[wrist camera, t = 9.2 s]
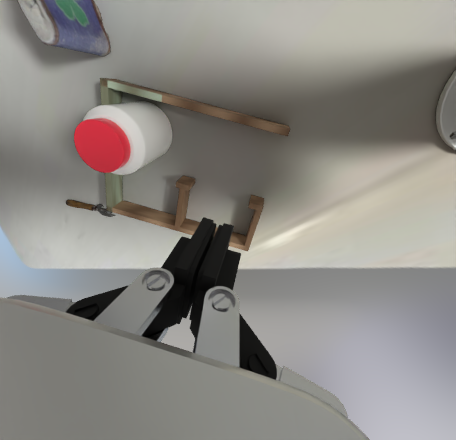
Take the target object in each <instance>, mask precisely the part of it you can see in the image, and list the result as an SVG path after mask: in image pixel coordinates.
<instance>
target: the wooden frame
mask: <svg viewBox="0 0 456 440" xmlns="http://www.w3.org/2000/svg"><path fill="white" fill-rule="evenodd" d="M100 89H101V105H109V104H119V103H122V93H121V91H123V92H126V93H130V94H134V95H137V96H141V97H145V98H148V99H152V100H156V101H159V102H163V103H167V104H171V105H174V106H178V107H182V108H185V109H189V110H193V111H196V112H200V113H204V114H207V115H211V116H215V117H218V118H222V119H226V120H229V121H233V122H237V123H240V124H244V125H248V126H251V127H255V128H259V129H262V130H266V131H270V132H273V133H277V134H281V135H285V136H288V134H289V131H290V128H289V126H287V125H283V124H279V123H275V122H272V121H268V120H264V119H261V118H257V117H253V116H250V115H246V114H242V113H238V112H235V111H231V110H227V109H224V108H220V107H216V106H213V105H209V104H205V103H202V102H198V101H194V100H190V99H187V98H183V97H179V96H176V95H172V94H168V93H165V92H161V91H157V90H154V89H150V88H146V87H142V86H139V85H135V84H131V83H128V82H124V81H120V80H117V79H108V78H100ZM194 184H195V179H194V178H190V177H187V176H182V177H181V178H180V179H179V180H178V181H177V182H176V187H177V188H180V189H179V197H178V204H177V212H176V215H172V214H169V213H165V212H162V211H158V210H155V209H151V208H148V207H144V206H141V205H137V204H134V203H130V202H127V201H124V200H123V194H122V175H118V174H113V173H105V187H106V207H107V211H111V212H114V213H118V214H121V215H124V216H128V217H131V218H135V219H138V220H142V221H145V222H149V223H152V224H155V225H159V226H162V227H166V228H169V229H173V230H176V231H180V232H183V233H187V234H190V235H193V234H194V232H195V231H196V229H197V227H198V226H199V224H200V222H197V221H193V220H190V219H186V212H187V206H188V199H189V193H190V189H191V188H192V186H193V185H194ZM263 204H264V198H261V197H258V196H254V195H251V198H250V202H249V207H248V208H251V209H254V210H255V211H254V214H253V217H252V220H251V223H250V226H249V229H248V232H247V235H246V236H245V235H242V234H238V233H235V232H232V235H231V239H230V243H229V246H231V247H235V248H238V249H242V250H245V251H248V250H249V247H250V244H251V241H252V238H253V235H254V232H255V229H256V226H257V224H258V221H259V218H260V215H261V212H262V209H263ZM217 229H218V228H217V227H216V229H215V234H216V231H217ZM215 234H214V236H215Z"/></svg>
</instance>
